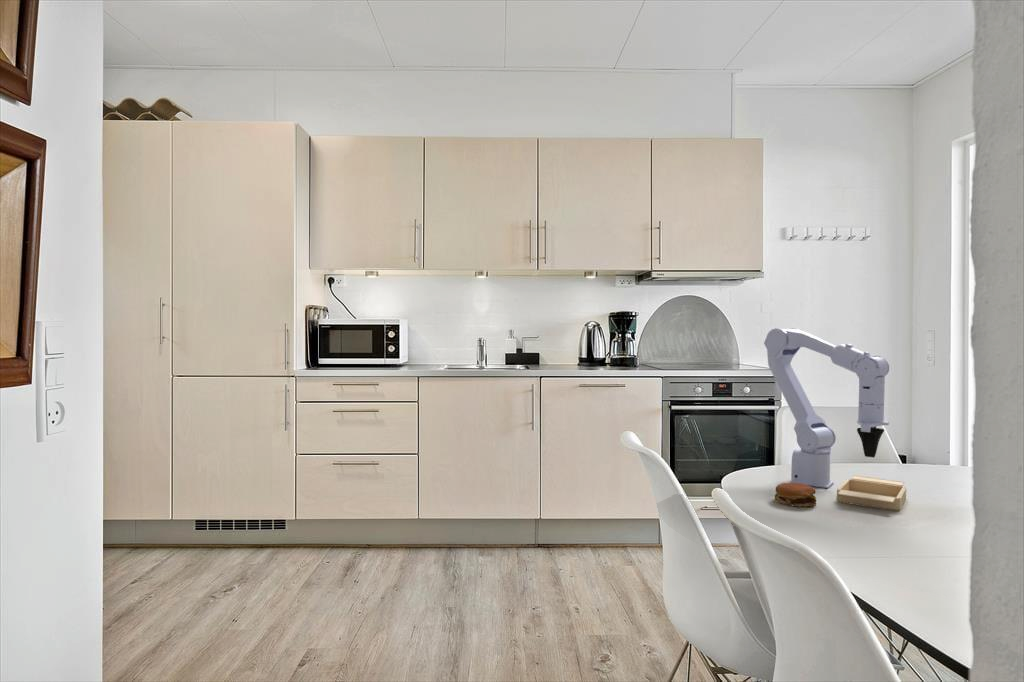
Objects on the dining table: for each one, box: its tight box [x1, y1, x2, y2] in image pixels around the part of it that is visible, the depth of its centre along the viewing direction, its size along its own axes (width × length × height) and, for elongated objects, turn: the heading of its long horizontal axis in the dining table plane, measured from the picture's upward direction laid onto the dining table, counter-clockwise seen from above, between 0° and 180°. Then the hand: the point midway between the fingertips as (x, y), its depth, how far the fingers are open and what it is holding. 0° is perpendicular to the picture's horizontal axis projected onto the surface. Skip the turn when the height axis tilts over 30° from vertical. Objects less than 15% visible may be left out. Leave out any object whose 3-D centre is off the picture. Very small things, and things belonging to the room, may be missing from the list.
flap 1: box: [850, 474, 905, 486], centre depth 171 cm, size 12×1×4 cm
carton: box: [836, 478, 907, 512], centre depth 164 cm, size 14×14×3 cm
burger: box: [774, 482, 817, 508], centre depth 161 cm, size 10×9×5 cm
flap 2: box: [838, 490, 895, 504], centre depth 157 cm, size 12×1×4 cm
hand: (869, 456), depth 168 cm, fingers closed
